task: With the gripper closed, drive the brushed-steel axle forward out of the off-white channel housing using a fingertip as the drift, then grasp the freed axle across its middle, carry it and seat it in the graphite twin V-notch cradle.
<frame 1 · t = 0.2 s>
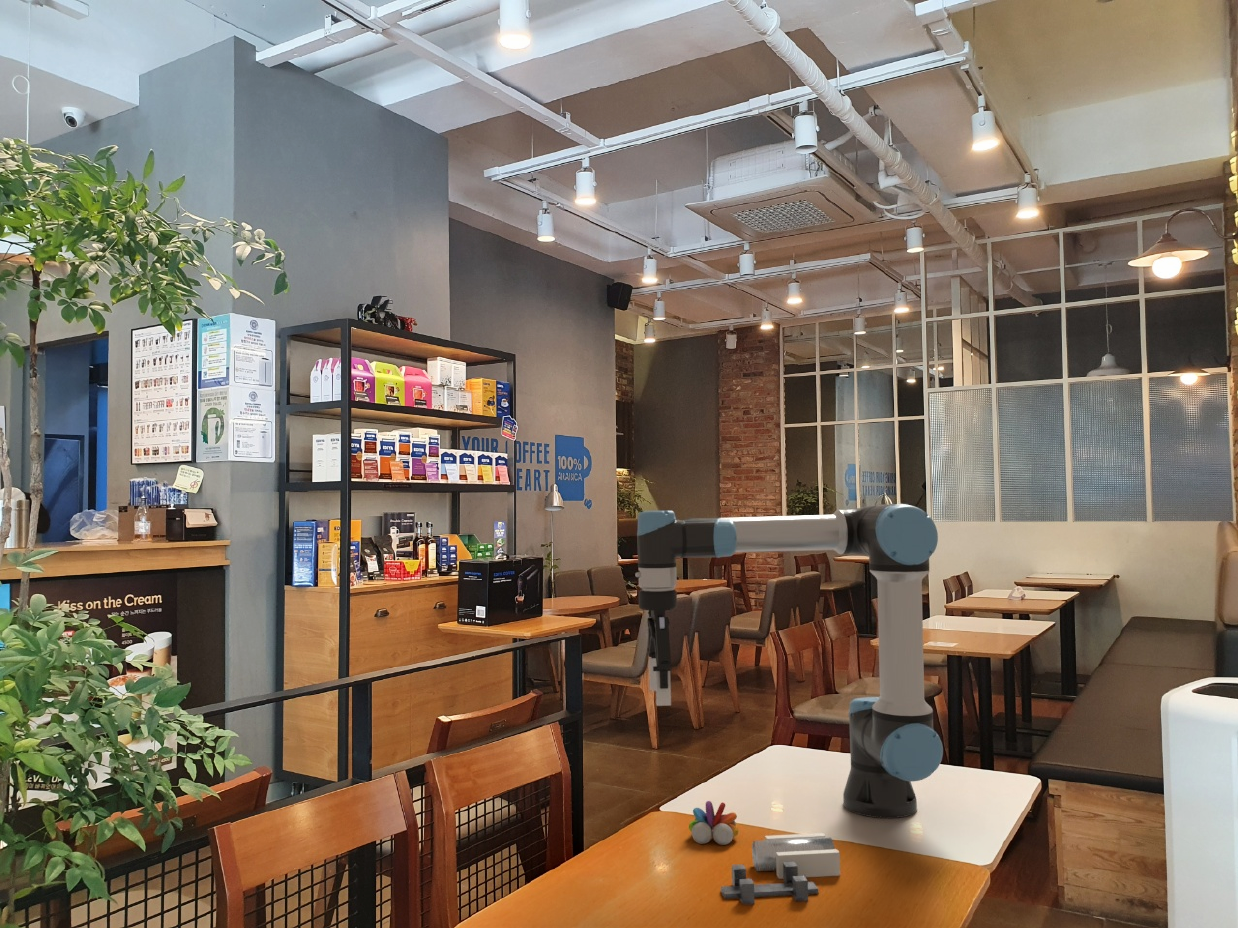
hand: (659, 697, 180), 28 cm above the table, fingers open, 13 cm apart
rainbow petal fan toy: (713, 840, 179), on the table
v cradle: (769, 892, 154), on the table
axle: (793, 853, 165), point 2 cm above the table
channel housing: (801, 866, 165), on the table
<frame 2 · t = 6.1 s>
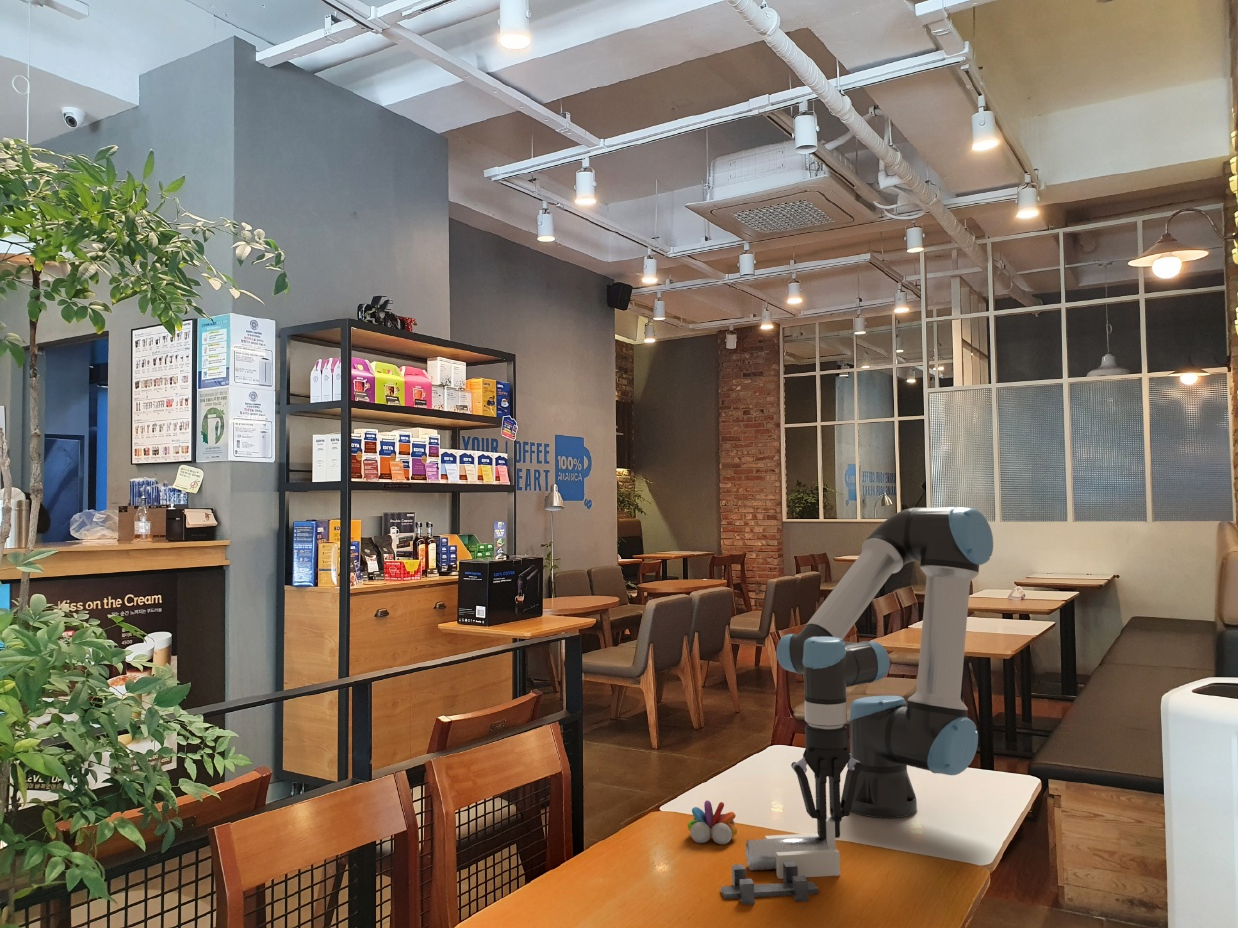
hand: (829, 855, 165), 2 cm above the table, fingers closed
axle: (787, 852, 165), point 2 cm above the table, touching gripper
everything else where it was.
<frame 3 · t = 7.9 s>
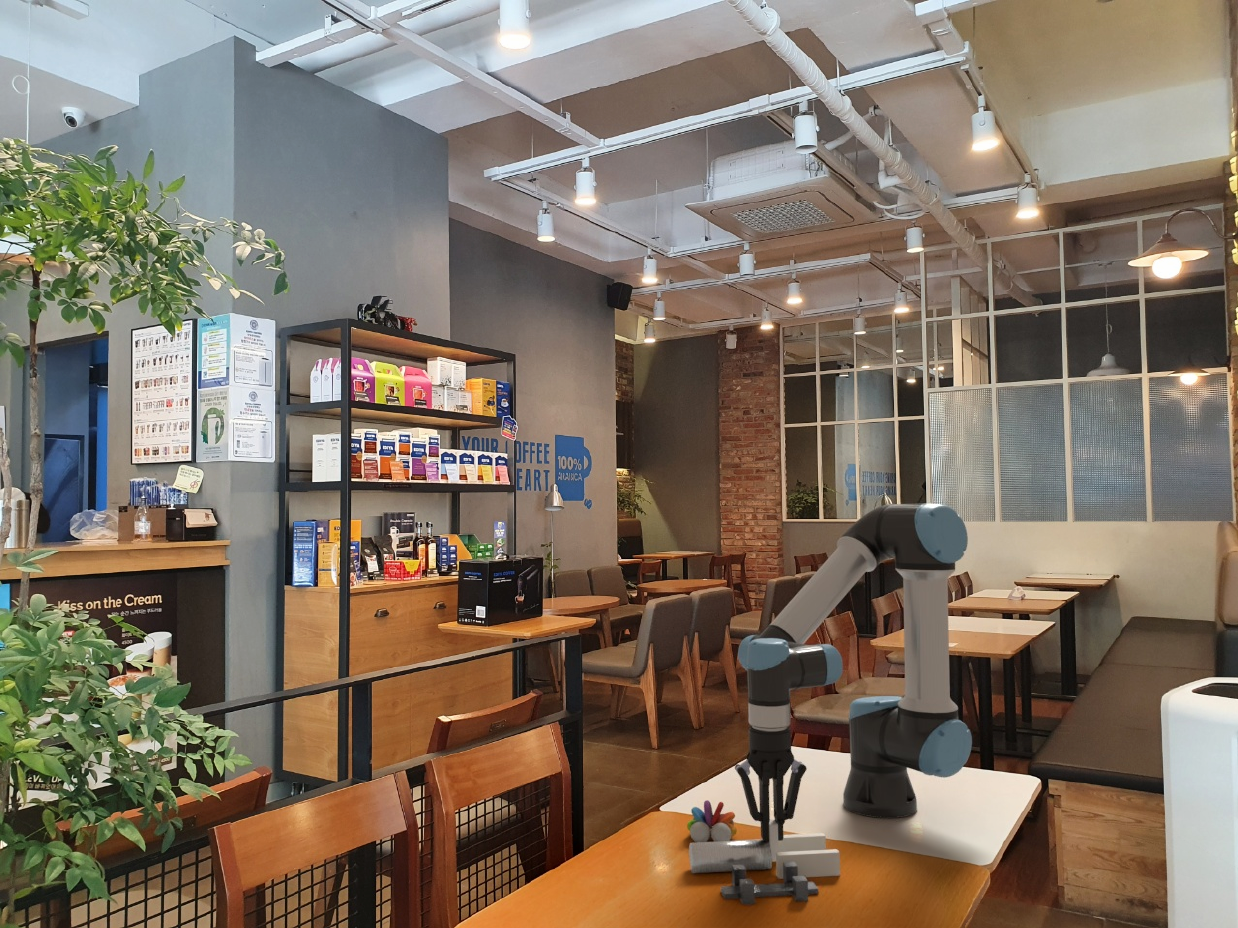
hand: (772, 858, 165), 2 cm above the table, fingers closed
axle: (730, 855, 164), point 2 cm above the table, touching gripper
everything else where it was.
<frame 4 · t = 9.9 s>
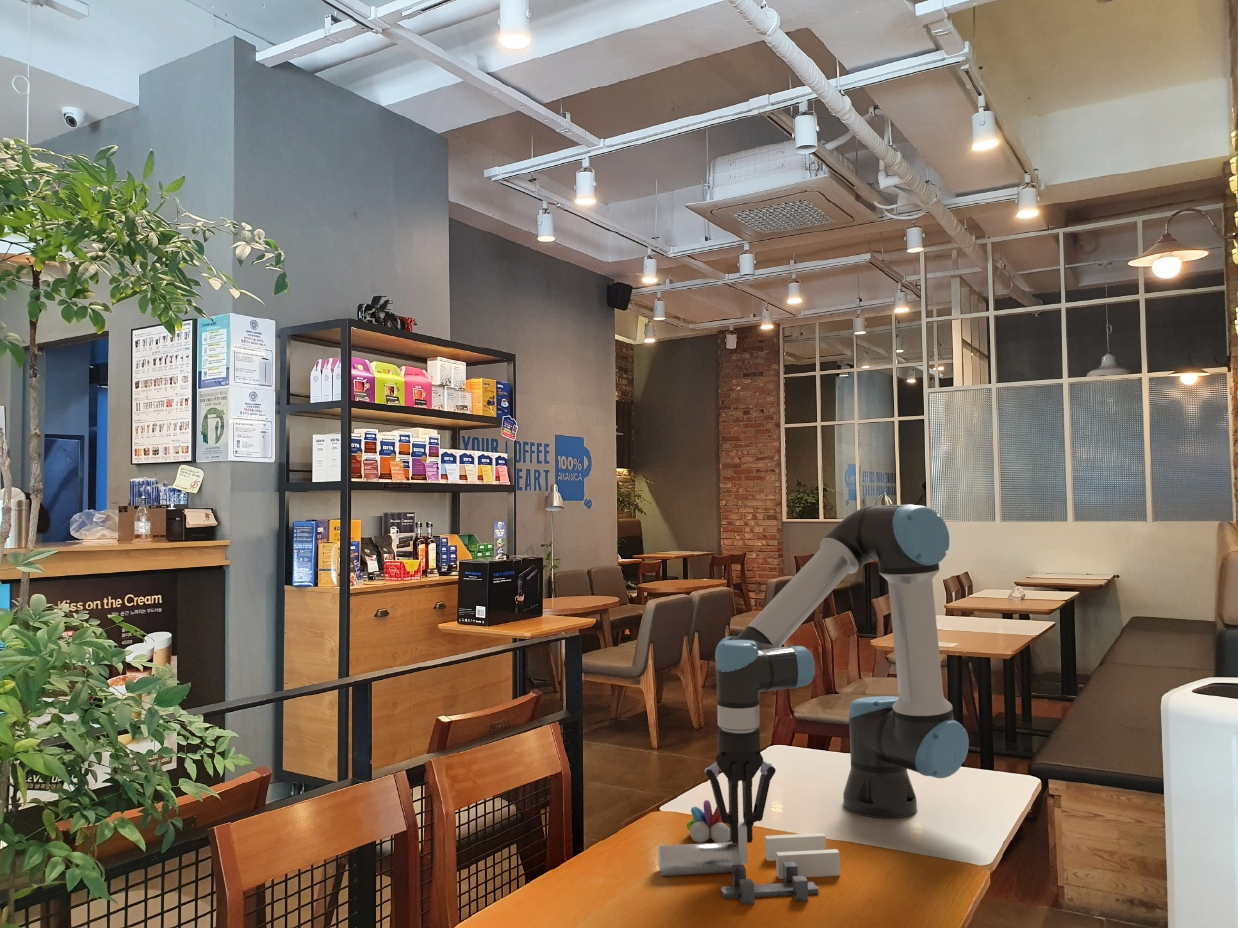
hand: (741, 860, 164), 2 cm above the table, fingers closed
axle: (699, 858, 164), point 2 cm above the table, touching gripper
everything else where it was.
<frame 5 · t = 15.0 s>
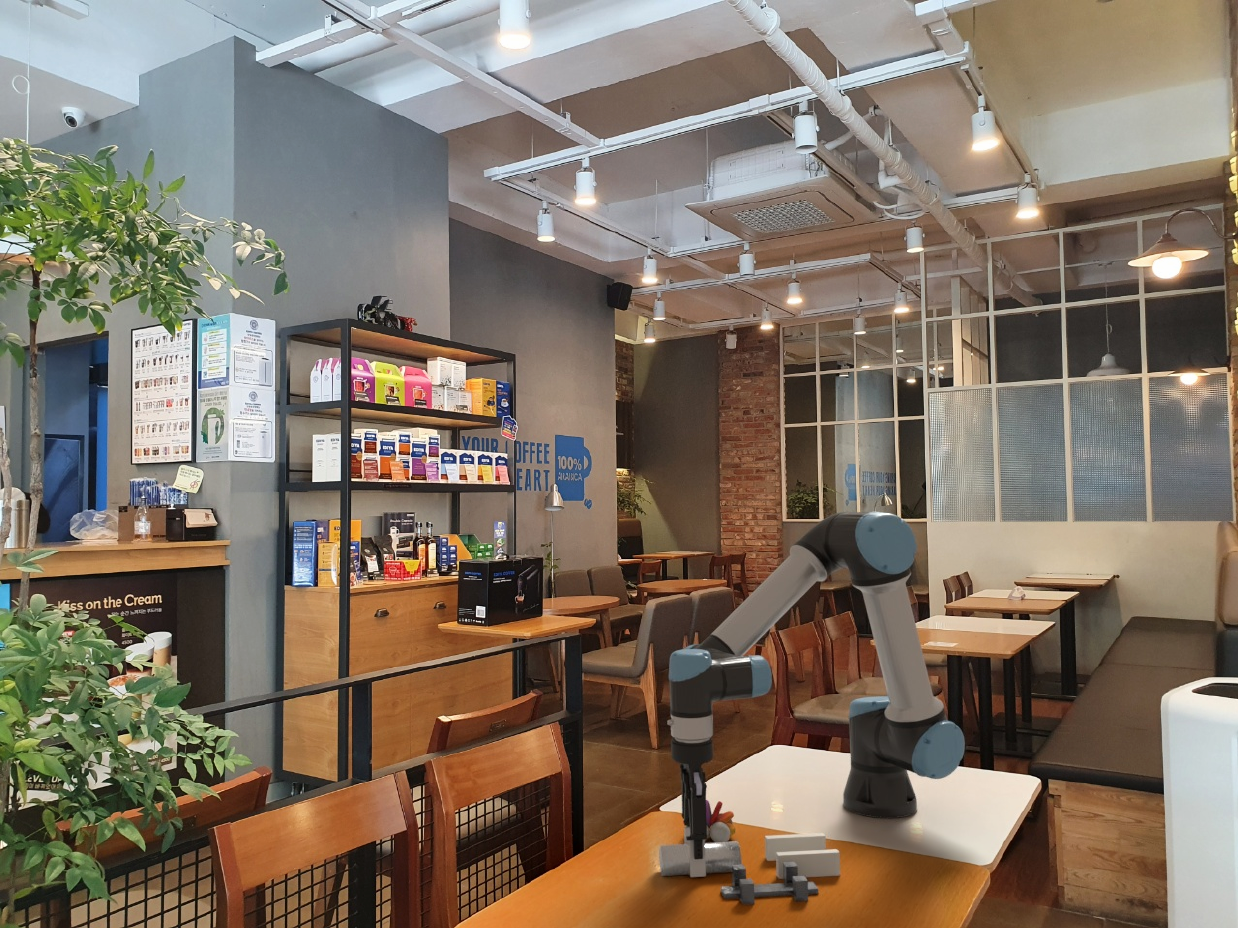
hand: (695, 869, 163), 1 cm above the table, fingers closed on axle, 5 cm apart
axle: (699, 858, 163), point 2 cm above the table, tilted 23°, touching gripper
everything else where it was.
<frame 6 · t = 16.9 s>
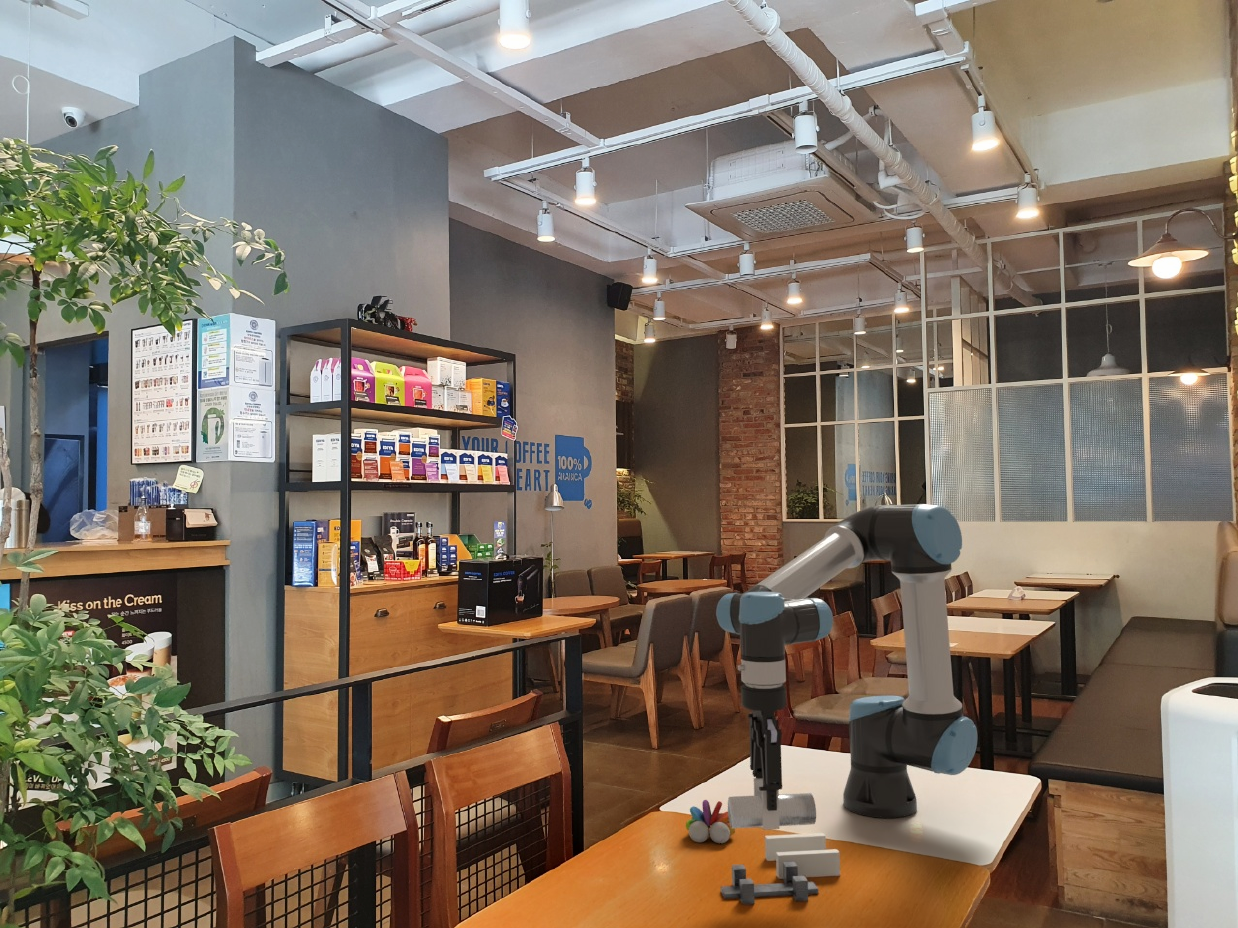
hand: (766, 822, 155), 12 cm above the table, fingers closed on axle, 5 cm apart
axle: (771, 810, 155), point 14 cm above the table, tilted 22°, touching gripper
everything else where it was.
when the fingers open (2 cm above the table, at t = 18.9 s): axle stays where it is, resting on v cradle.
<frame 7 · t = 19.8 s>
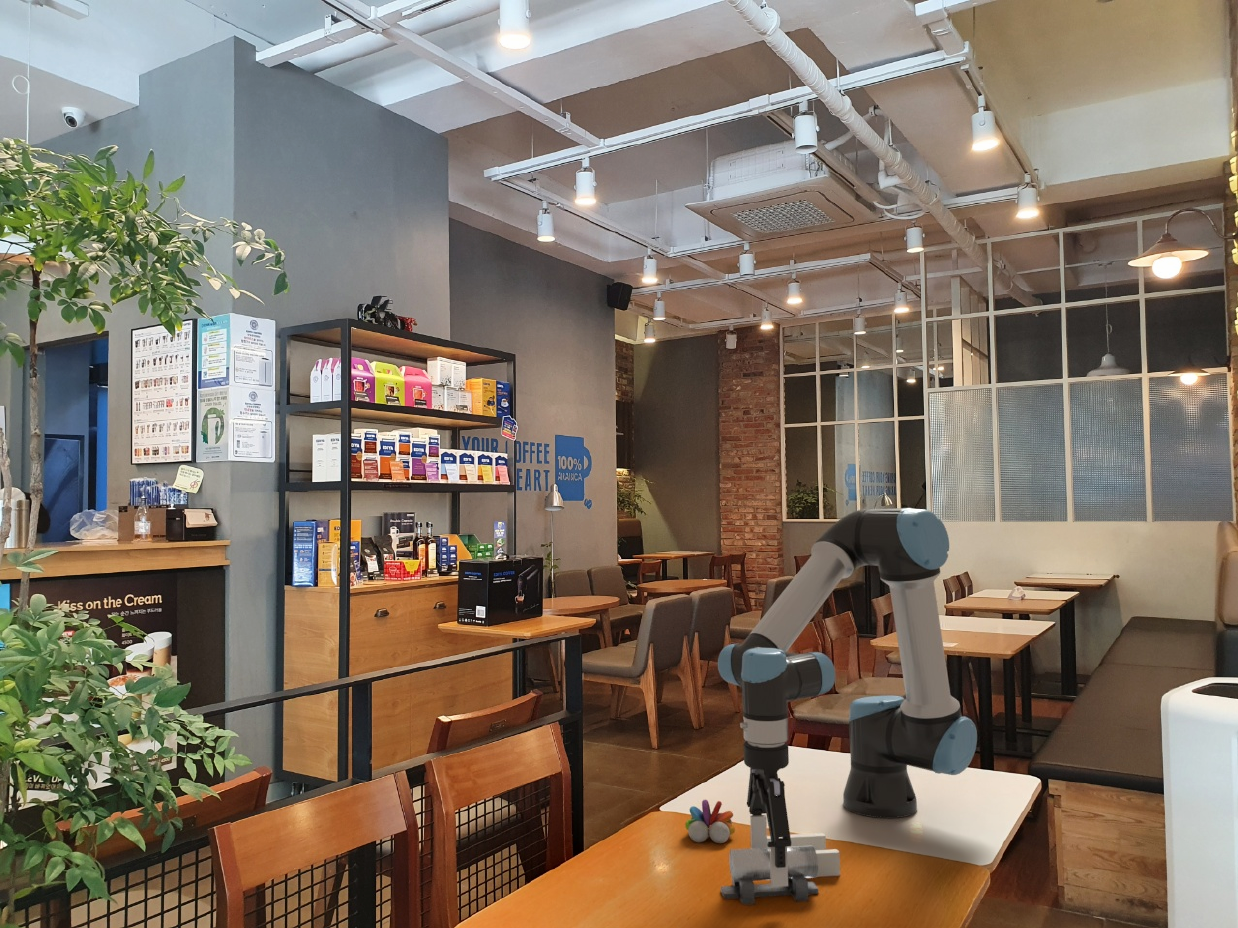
hand: (768, 868, 154), 4 cm above the table, fingers open, 13 cm apart
axle: (773, 863, 155), point 5 cm above the table, tilted 24°, touching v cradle
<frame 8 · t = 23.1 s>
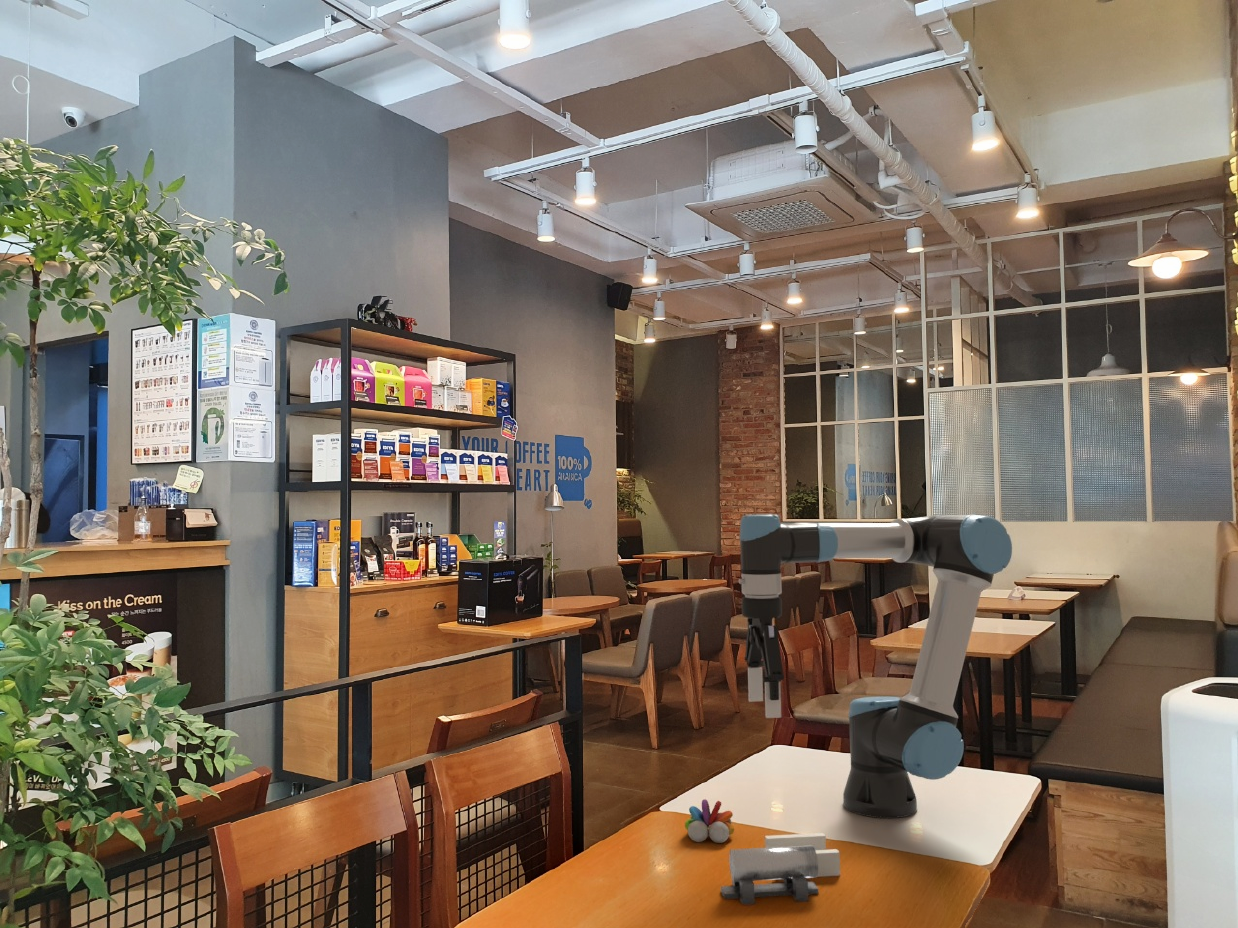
hand: (764, 709, 173), 27 cm above the table, fingers open, 13 cm apart
at the end: axle inside the target area on the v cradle (0.8 cm from its centre), point 4.8 cm above the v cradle's base; the gripper is holding nothing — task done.
